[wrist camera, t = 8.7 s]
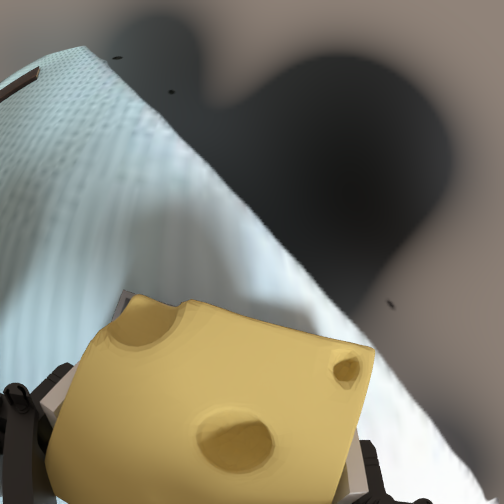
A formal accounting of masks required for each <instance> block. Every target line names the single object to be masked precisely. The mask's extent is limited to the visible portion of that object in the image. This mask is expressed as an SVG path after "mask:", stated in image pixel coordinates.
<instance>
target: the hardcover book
mask: <svg viewBox="0 0 504 504" xmlns="http://www.w3.org/2000/svg"><path fill="white" fill-rule="evenodd" d="M38 73H39V66H38V67H37V68H35V69H33V70H31V71H30V72H28V73H26V74H25V75H23V76H21V77H20V78H18V79H16V80H15V81H13V82H12V83H10V84H9V85H7V86H6V87H4V88H3V89H1V90H0V103H1V102H2V101H3V100H5V99H6V98H8V97H9V96H11V95H12V94H14V93H15V92H17V91H18V90H20V89H21V88H23V87H25V86H26V85H28V84H30V83H31V82H33V81H35V80H37V76H38Z"/></svg>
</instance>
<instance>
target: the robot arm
mask: <svg viewBox="0 0 504 504" xmlns="http://www.w3.org/2000/svg"><path fill="white" fill-rule="evenodd" d="M79 362H80V361H79ZM79 362H78V363H77V364H76V365H75V366H73V365H71V364H70V363H68V362H67V363H64V364H62V365H60V366H58V367H57V368H56V369H55V370H54V371H53V372H52V374H50V375H49V376H48V377H47V379H45V380H44V381H43V382H42V383H41V384H40V385H39V386H38V387H37V388H36V389H35V390H34V391H33V392H32V393H31V394H29V391H28V389H27V388H26V387H25V386H24V385H23V384H20V383H11V384H9V385H7V386H6V387H5V389H4V391H3V393H4V394H1V393H0V497H2V496H3V504H57V501H56V496H55V494H54V492H53V489H52V486H51V483H50V480H49V477H48V474H47V470H46V466H45V456H46V452H47V447H48V444H49V441H50V438H51V435H52V432H53V428H54V426H55V423H56V420H57V418H58V415H59V412H60V410H61V407H62V404H63V402H64V399H65V397H66V394H67V392H68V389H69V387H70V384H71V382H72V380H73V377H74V375H75V372H76V370H77V367H78V365H79ZM332 504H433V503H432V502H431V501H430V500H429V499H425V498H421V499H418V500H416V501H415V502H413V503H407V502H399V501H395V500H394V499H393V498H392V496H390V495H388V494H386V491H385V488H384V483H383V479H382V474H381V470H380V466H379V461H378V459H377V453H376V449H375V447H374V445H373V444H372V443H371V441H370V440H359V437H358V433H357V428H356V430H355V433H354V436H353V440H352V443H351V446H350V449H349V452H348V455H347V458H346V462H345V465H344V468H343V471H342V474H341V477H340V480H339V483H338V486H337V489H336V492H335V495H334V498H333V501H332Z"/></svg>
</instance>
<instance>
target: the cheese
mask: <svg viewBox="0 0 504 504" xmlns="http://www.w3.org/2000/svg"><path fill="white" fill-rule="evenodd" d="M374 357H375V350H374V349H373V348H371V347H368V346H363V345H359V344H355V343H351V342H346V341H342V340H337V339H332V338H327V337H323V336H319V335H314V334H310V333H307V332H303V331H299V330H295V329H291V328H287V327H283V326H279V325H276V324H272V323H268V322H264V321H260V320H257V319H253V318H250V317H247V316H243V315H240V314H237V313H234V312H231V311H228V310H226V309H223V308H220V307H217V306H214V305H211V304H208V303H205V302H201V301H196V300H192V299H190V300H188V301H185V302H182V303H181V304H180V305H179V306H177V307H172V306H168V305H165V304H163V303H160V302H158V301H156V300H154V299H152V298H149V297H147V296H144V295H141V294H137V295H134V296H133V297H132V298H131V300H130V301H129V303H128V305H127V306H126V308H125V309H124V311H123V312H122V314H121V315H120V316H119V317H118V318H117V319H115V320H114V321H113V322H111V323H109V324H108V325H107V326H105V327H104V328H102V329H101V330H99V332H98V333H97V334H96V335H95V337H94V338H93V339H92V340H91V341H90V343H89V345H88V347H87V348H86V350H85V352H84V354H83V355H82V357H81V360H80V362H79V365H78V367H77V370H76V372H75V375H74V377H73V380H72V382H71V384H70V387H69V389H68V392H67V394H66V397H65V399H64V402H63V404H62V407H61V410H60V412H59V415H58V418H57V420H56V423H55V426H54V428H53V432H52V435H51V438H50V441H49V444H48V447H47V452H46V456H45V466H46V470H47V474H48V477H49V480H50V483H51V486H52V489H53V492H54V494H55V496H57V497H58V498H60V499H62V500H63V501H65V502H67V503H68V504H332V501H333V498H334V495H335V492H336V489H337V486H338V483H339V480H340V477H341V474H342V471H343V468H344V465H345V462H346V458H347V455H348V452H349V449H350V446H351V443H352V440H353V436H354V433H355V430H356V426H357V423H358V420H359V417H360V414H361V410H362V407H363V403H364V400H365V396H366V393H367V389H368V385H369V381H370V377H371V373H372V368H373V363H374Z"/></svg>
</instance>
